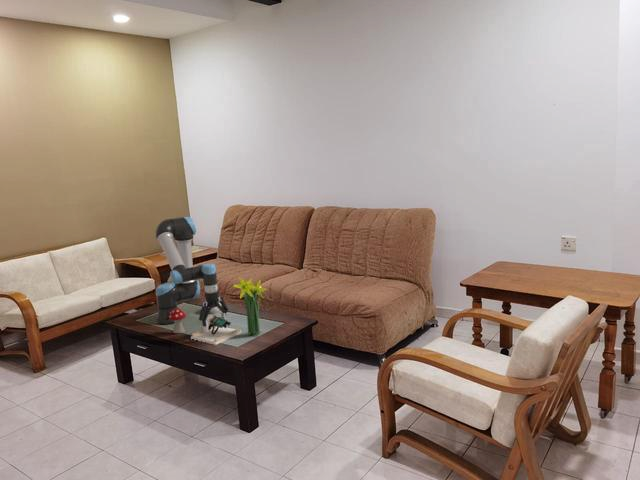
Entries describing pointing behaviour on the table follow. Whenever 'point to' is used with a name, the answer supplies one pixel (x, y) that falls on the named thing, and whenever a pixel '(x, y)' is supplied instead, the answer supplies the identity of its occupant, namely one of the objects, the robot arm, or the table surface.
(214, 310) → the lidded jar
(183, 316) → the decorative mushroom
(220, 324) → the binoculars
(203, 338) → the display riser
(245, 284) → the daffodil flowers
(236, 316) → the table surface
